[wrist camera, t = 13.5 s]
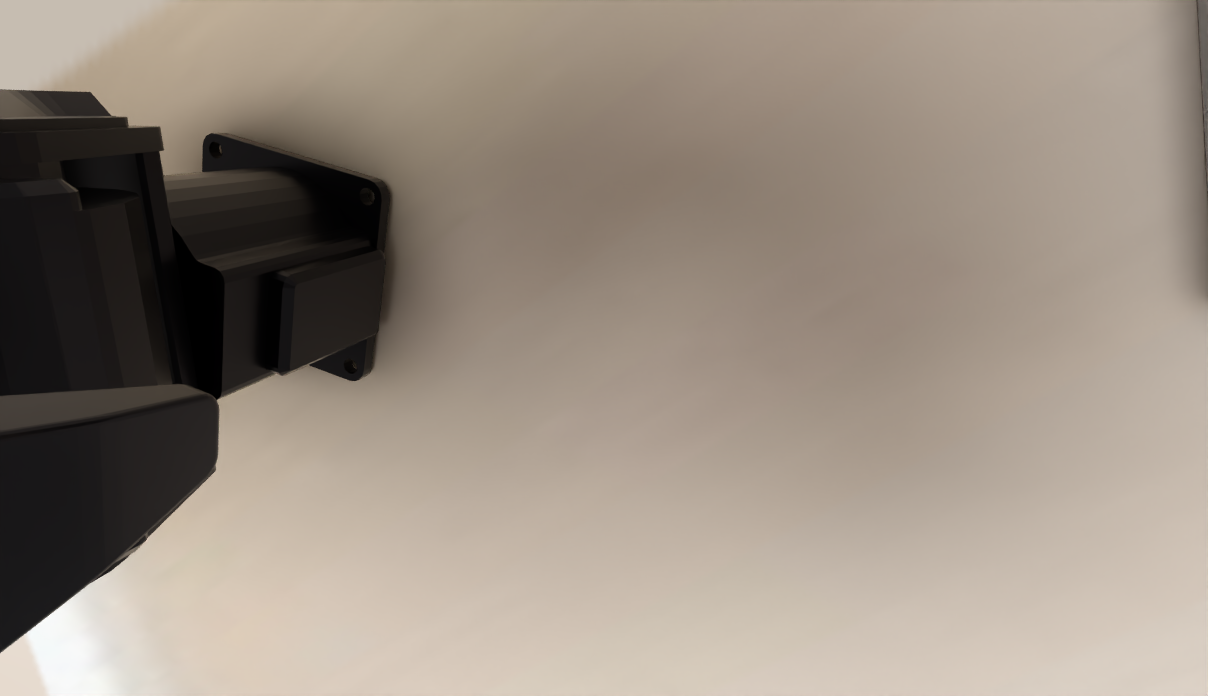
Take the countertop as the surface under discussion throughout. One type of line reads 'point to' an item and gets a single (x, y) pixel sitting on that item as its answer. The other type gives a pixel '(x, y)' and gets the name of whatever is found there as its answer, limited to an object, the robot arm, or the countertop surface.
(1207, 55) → the bin
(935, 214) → the countertop surface
